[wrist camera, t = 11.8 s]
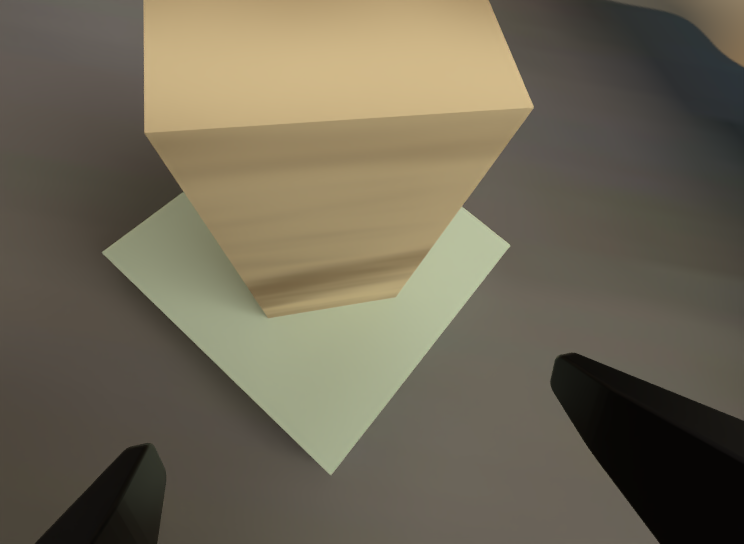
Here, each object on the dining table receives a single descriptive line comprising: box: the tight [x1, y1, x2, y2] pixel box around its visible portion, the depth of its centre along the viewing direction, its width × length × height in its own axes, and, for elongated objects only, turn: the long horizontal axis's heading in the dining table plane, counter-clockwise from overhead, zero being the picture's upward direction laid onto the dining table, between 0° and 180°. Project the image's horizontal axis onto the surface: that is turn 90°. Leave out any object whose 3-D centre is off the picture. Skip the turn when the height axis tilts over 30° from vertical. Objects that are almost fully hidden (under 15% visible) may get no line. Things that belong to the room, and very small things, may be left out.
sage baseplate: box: [102, 192, 510, 475], centre depth 18 cm, size 14×14×2 cm
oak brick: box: [144, 0, 534, 318], centre depth 12 cm, size 6×6×12 cm
